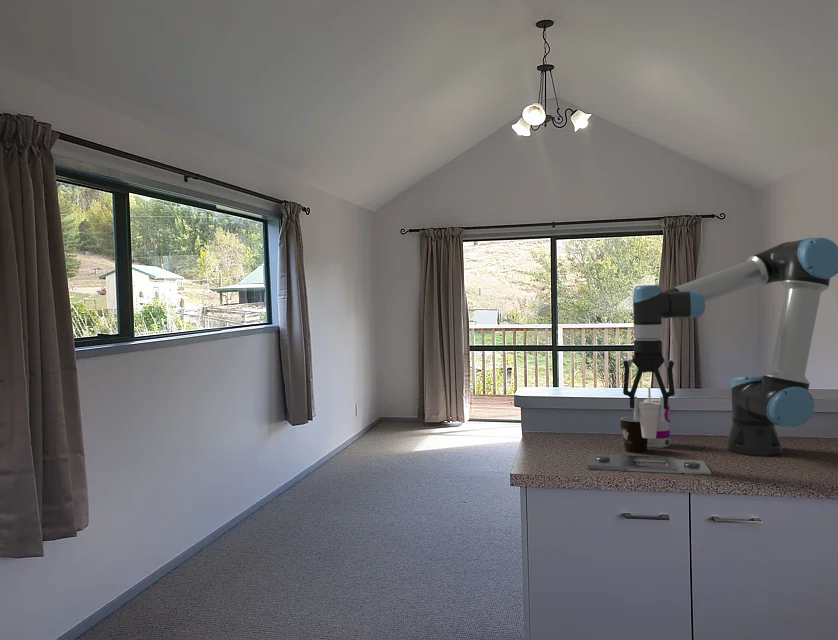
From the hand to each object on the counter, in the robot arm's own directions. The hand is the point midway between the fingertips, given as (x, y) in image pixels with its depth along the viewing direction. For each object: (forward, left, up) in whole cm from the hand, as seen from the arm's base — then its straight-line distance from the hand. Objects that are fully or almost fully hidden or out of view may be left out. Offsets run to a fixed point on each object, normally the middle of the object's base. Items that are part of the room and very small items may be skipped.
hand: (648, 420), depth 174 cm
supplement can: (-4, -27, -13) cm, 30 cm away
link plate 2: (-4, 0, -13) cm, 14 cm away
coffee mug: (+3, -20, -13) cm, 24 cm away
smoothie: (0, 0, -5) cm, 5 cm away
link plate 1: (+5, 0, -13) cm, 14 cm away
